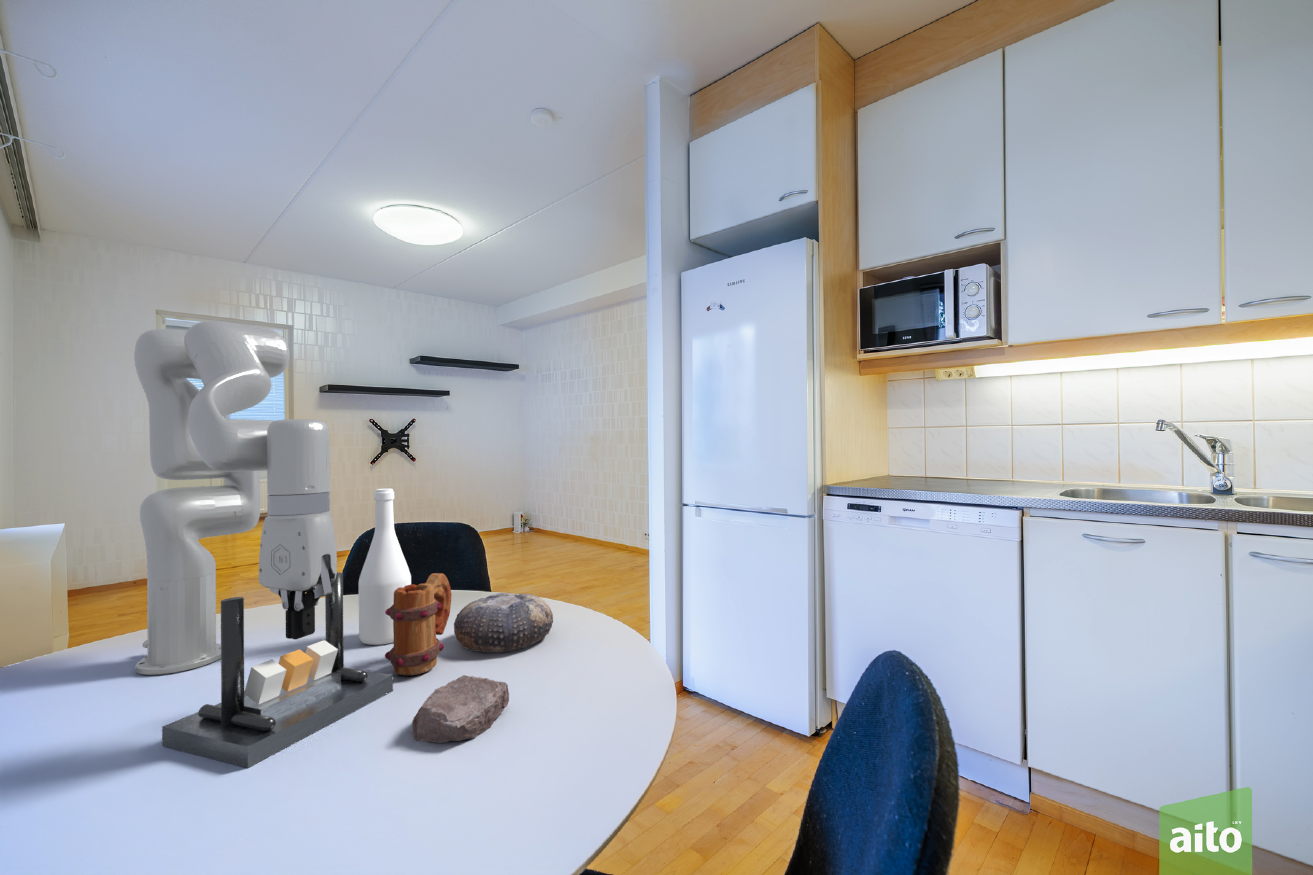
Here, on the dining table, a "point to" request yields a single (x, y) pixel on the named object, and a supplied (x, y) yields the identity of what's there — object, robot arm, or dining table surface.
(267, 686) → the white tilted cube
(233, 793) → the dining table surface
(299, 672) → the block
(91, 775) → the dining table surface
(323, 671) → the white leaning block
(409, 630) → the mug
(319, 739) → the dining table surface
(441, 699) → the stone
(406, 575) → the wine bottle
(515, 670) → the dining table surface
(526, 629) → the sea urchin shell
